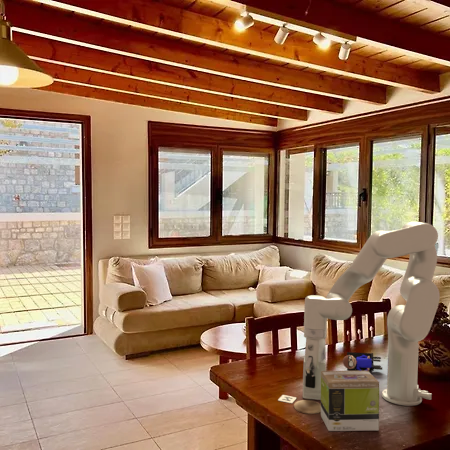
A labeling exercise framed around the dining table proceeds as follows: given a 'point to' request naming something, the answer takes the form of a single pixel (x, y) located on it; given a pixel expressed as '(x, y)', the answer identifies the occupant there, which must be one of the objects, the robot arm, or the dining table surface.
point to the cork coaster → (307, 406)
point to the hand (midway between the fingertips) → (313, 382)
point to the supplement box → (315, 392)
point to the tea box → (350, 400)
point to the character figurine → (361, 361)
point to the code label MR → (287, 399)
